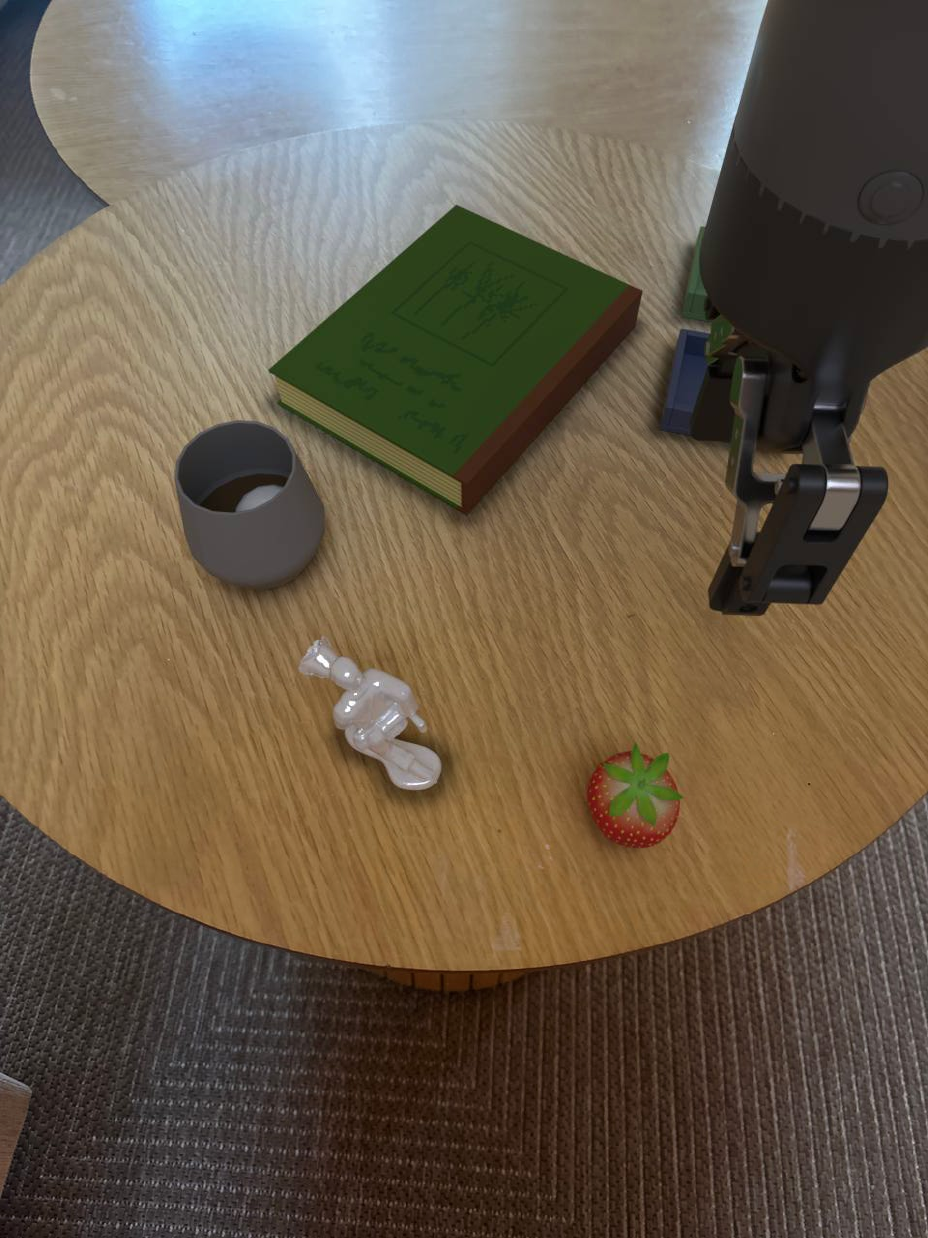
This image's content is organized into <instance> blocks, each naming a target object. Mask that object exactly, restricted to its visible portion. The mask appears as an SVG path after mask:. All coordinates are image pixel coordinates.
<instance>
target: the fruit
mask: <svg viewBox="0 0 928 1238" xmlns="http://www.w3.org/2000/svg"><path fill="white" fill-rule="evenodd" d="M669 761H670V753H669V752H664V753H661V754H659V755H658V756H657V757H656V758H652V757H651V756H649V755H647V754H646V753H642V752H641V751H640V749H639V746H638V743H637V742H636V741H634V743H633V747H632V750H631V751H629V750H627V751H623V752H619V753H617V754H615V755H612V756H610V757H608V758H607V759H606V760H604V761H603V762H602V763H600V764H599V765H598V766H597V767H596V769H595V770H594V772H592V774H591V776H590V778H589V781H588V784H587V787H586V800H587V806H588V809H589V812H590V814H591V817H592V819H593V821H594V822H595V823H594V824H595V825H596V826H597V827H598V829H599V830H600V832H601V833H602V834H603V836H604V837H605V838H607V839H608V840H609V841H611V842H612V843H614V844H616V845H619V846H622V847H625V848H631V849H647V848H651V847H653V846H657V845H658V844H660V843H662V842H663V841H664V840H665V839H666V838H667V837H669V835H670V834H671V833H672V832H673V829H674V828H675V825H677V821H678V818H679V814H680V809H681V808H680V807H681V801H680V800H682V799H685V797H684V796H683V795H682V794H681V793H679V790H678V787H677V784H676V782H675V780H674V778H673V776H672V775H671V773H670V772H669V771H668V770H667V769H668V766H669Z"/></svg>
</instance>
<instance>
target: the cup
mask: <svg viewBox="0 0 928 1238" xmlns="http://www.w3.org/2000/svg"><path fill="white" fill-rule="evenodd" d="M173 480H174V484H175V490H176V496H177V501H178V507H179V512H180V518H181V523H182V529H183V534H184V537H185V540H186V542H187V545H188V548H189V550H190V553H191V556H192V557H193V559H194V560H195V561H196V562H197V563H198V564H199V565H200V566H201V567H202V568H203V569H204V570H205V571H206V572H208V574H209V575H211V577H214V578H217V579H219V580H221V581H223V582H226V583H229V584H232V586H237V587H241V588H244V589H249V590H259V591H266V590H272V589H275V588H279V587H282V586H284V585H286V584H288V583H290V582H291V581H293V580H296V578H297V577H298V576H299V575H300V574H301V573H302V571H303V570H305V568H306V567H307V566H308V565H309V563H310V562H311V561H312V559H313V558H314V556H315V555H316V553H317V551H318V549H319V546H320V544H321V541H322V539H323V536H325V535H324V534H325V531H326V530H325V529H326V528H325V507H324V503H323V502H322V500H321V498H320V496H319V494H318V491H317V489H316V487H315V485H314V484H313V482H312V480H311V478H310V475H309V474H308V472H307V471H306V469H305V467H304V465H303V463H302V461H301V460H300V458H299V456H298V454H297V451H296V450H295V449H294V446H293V445H292V442H291V441H290V439H289V438H288V437H287V436H286V435H285V434H283V433H282V432H281V431H280V430H278V428H276V427H274V426H271V425H268V424H266V423H264V422H261V421H259V420H244V419H243V420H242V419H236V420H232V421H231V420H230V421H226V422H222V423H217V424H215V425H213V426H211V427H208V428H206V429H205V430H201V432H198V433H197V435H195V436H194V437H193V438H191V440H189V441H188V442H187V443H186V444H185V445H184V446H183V448H182V450H181V451H180V453H179V455H178V457H177V459H176V460H175V467H174V477H173Z"/></svg>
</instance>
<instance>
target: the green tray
mask: <svg viewBox="0 0 928 1238" xmlns="http://www.w3.org/2000/svg"><path fill="white" fill-rule="evenodd" d="M705 227H706V226H702V225H700V227H699V231H698V234H697V238H696V241H695V246H694V249H693V254H692V260H691V265H690V270H689V275H688V280H687V285H686V291H685V295H684V300H683V306H682V311H681V314H680V315H681V317H682V318H687V319H691V320H692V319H693V320H698V321H705V322H712V321H707V320H706V318H705V311H704V300H705V298H707V293H706V290H705V288H704V286H703V282H702V279H701V274H700V269H699V251H700V246H701V241H702V238H703V234H704V230H705Z"/></svg>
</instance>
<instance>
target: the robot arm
mask: <svg viewBox="0 0 928 1238" xmlns="http://www.w3.org/2000/svg"><path fill="white" fill-rule="evenodd" d="M748 65H749V66H748V69H747V72H746V77H745V81H744V83H743V88H742V92H741V95H740V99H739V103H738V106H737V111H736V112H735V113H736V114H735V116H734V119H733V124H732V127H731V131H730V135H729V138H728V142H727V145H726V149H725V153H724V157H723V160H722V163H721V168H720V172H719V176H718V179H717V182H716V185H715V190H714V194H713V197H712V201H711V204H710V209H709V213H708V215H707V219H706V223H705V226H704V227H705V230H704V234H703V238H702V241H701V246H700V251H699V269H700V274H701V279H702V282H703V286H704V288H705V290H706V293H707V298H705V300H704V311H705V318H706V320H707V321H706V322H709V321H712V322H711V323H710V325H711V326H710V332H709V333H710V334H709V336H708V340H707V342H706V343H705V346H704V355H705V358H706V364H707V365H712V366H707V369H706V372H705V376H704V379H703V382H702V385H701V388H700V391H699V394H698V397H697V400H696V403H695V406H694V410H693V413H692V416H691V419H690V430H691V436H690V437H691V438H692V439H693V440H695V441H698V442H719V443H720V442H722V443H727V442H731V443H729V444H730V446H729V451H728V459H727V465H726V472H725V478H724V485H725V488H726V490H728V491H727V492H729V493H730V494H731V496H733V497H734V499H736V504H735V510H734V511H735V512H734V518H733V523H732V524H733V525H732V531H731V537H730V541H729V543H728V545H727V547H726V549H725V551H724V553H723V556H722V558H721V560H720V563H719V564H718V567H717V569H716V570H715V573H714V576H713V578H712V580H711V582H710V584H709V586H708V589H707V597H708V604H709V608H710V610H712V611H715V612H721V615H722V616H741V617H745V616H746V617H761V616H764V615H765V614H766V613H767V611H768V609H769V608H770V606H771V604H784V605H785V604H787V605H789V604H791V605H812V606H813V605H815V606H817V605H818V606H821V605H822V604H824V602H825V600H826V598H827V597H828V596H829V594H830V592H831V591H832V589H833V588H834V586H835V585H836V583H837V581H838V579H839V578H840V576H841V574H842V573H843V571H844V569H845V568H846V566H847V565H848V563H849V561H850V560H851V558H852V556H854V553H855V552H856V550H857V548H858V547H859V545H860V544H861V542H862V540H863V539H864V537H865V535H866V534H867V532H868V530H869V529H870V527H871V525H872V524H873V522H874V521H875V520H876V518H877V516H878V515H879V513H880V511H881V509H882V508H883V506H884V504H885V502H886V500H887V497H888V492H889V475H888V472H887V470H886V468H884V467H883V466H874V465H873V466H872V465H871V466H869V465H867V466H866V465H855V461H854V458H853V454H852V451H851V446H850V443H851V438H852V435H853V434H854V432H855V431H856V429H857V426H858V424H859V421H860V418H861V416H862V415H863V413H864V411H865V408H866V403H867V398H868V395H869V394H868V393H869V389H870V386H871V382H872V380H874V379H875V378H877V377H878V376H880V375H881V374H883V373H884V372H886V371H888V370H889V369H891V368H893V367H894V366H896V365H898V364H899V363H902V362H904V361H906V360H907V359H909V358H912V357H913V356H915V355H917V354H919V353H920V352H922V351H924V350H926V349H927V348H928V0H767V1H766V5H765V9H764V12H763V15H762V17H761V21H760V25H759V29H758V32H757V35H756V40H755V43H754V46H753V50H752V55H751V58H750V62H749V64H748ZM756 451H757V452H760V453H762V454H770V455H771V454H773V455H776V454H777V455H802V459H801V463H792V464H791V465H790V466H789V468H788V469H787V472H786V473H783V472H782V473H779V472H778V473H777V472H756V471H755V472H754V463H755V458H756ZM769 504H772V505H771V507H770V509H769V512H768V513H767V515H766V518H765V521H764V522H763V525H762V527H761V529H760V531H758V525H759V520H760V513H761V510H762V508H763V507H765V506H766V505H769Z"/></svg>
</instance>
